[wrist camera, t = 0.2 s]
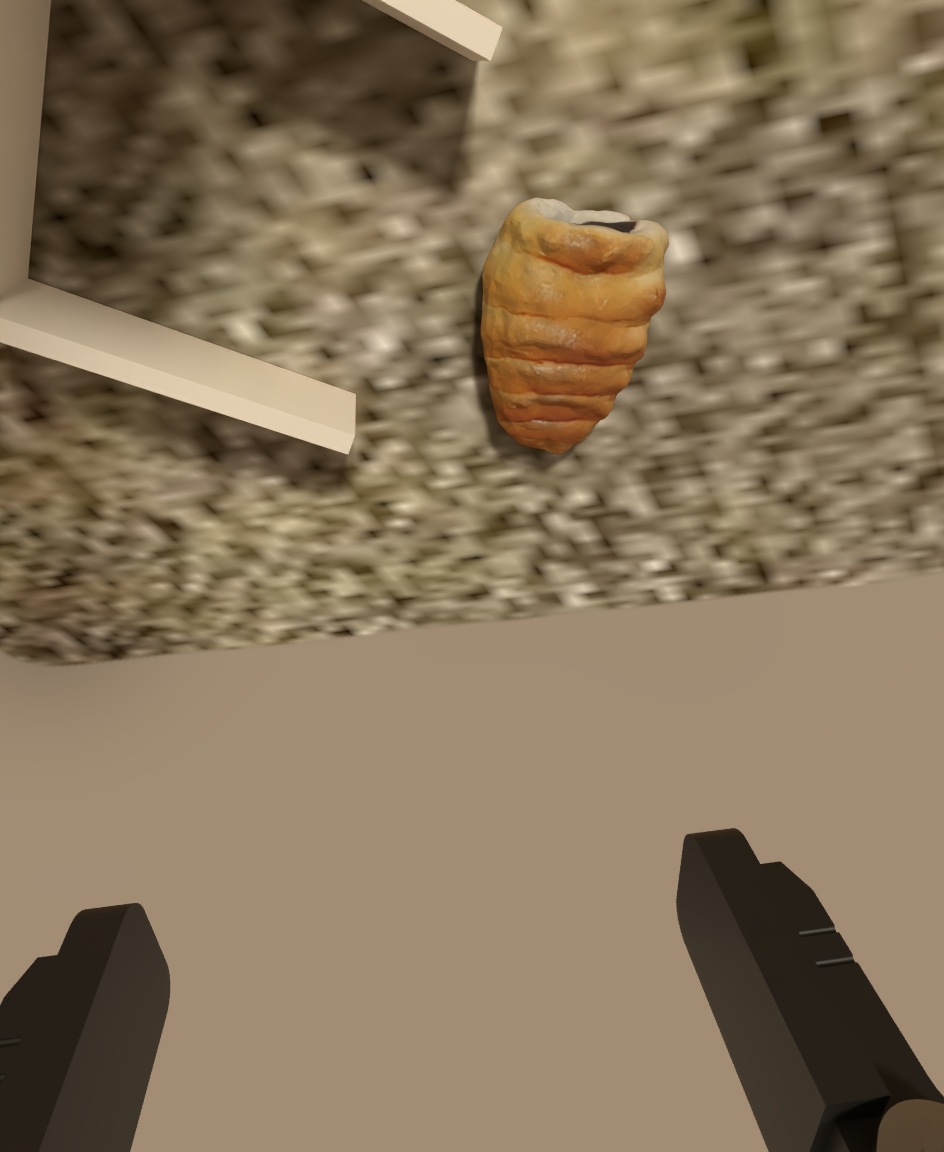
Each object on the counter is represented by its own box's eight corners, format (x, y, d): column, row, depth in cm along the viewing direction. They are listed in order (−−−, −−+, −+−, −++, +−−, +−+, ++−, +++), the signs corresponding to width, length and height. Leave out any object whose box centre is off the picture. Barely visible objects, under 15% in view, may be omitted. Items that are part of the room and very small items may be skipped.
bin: (33, -221, 18) (-37, -281, 15) (482, 32, 22) (502, 27, 19) (0, 291, 25) (-53, 325, 22) (349, 411, 29) (348, 454, 26)
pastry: (607, 440, 32) (632, 481, 29) (459, 430, 31) (468, 471, 28) (664, 209, 26) (703, 229, 23) (487, 188, 25) (504, 205, 22)
